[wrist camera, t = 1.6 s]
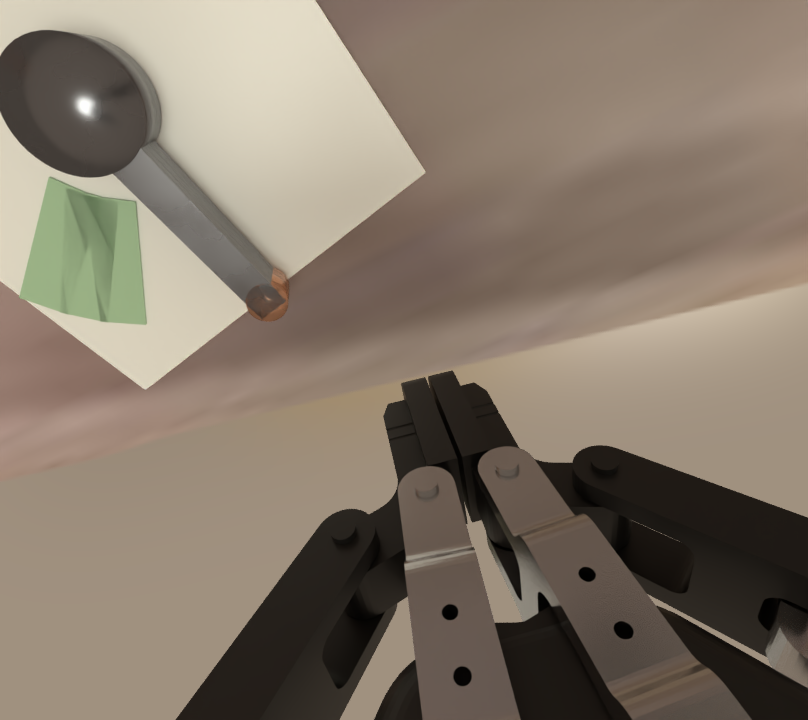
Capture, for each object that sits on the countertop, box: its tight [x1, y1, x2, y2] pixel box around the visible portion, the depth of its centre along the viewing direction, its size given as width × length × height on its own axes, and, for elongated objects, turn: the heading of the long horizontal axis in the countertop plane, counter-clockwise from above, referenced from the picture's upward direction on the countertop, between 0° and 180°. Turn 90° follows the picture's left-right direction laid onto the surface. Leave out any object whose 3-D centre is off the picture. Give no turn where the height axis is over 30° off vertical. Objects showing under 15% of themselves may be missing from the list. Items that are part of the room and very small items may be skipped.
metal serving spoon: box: [0, 30, 289, 321], centre depth 22 cm, size 14×5×3 cm, turn 35°
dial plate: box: [0, 0, 426, 390], centre depth 22 cm, size 20×22×2 cm
